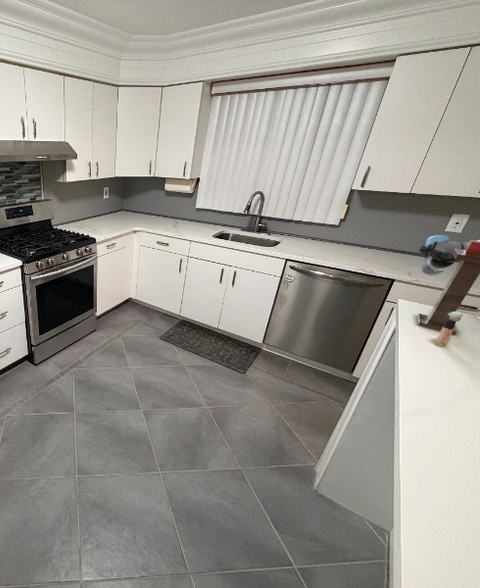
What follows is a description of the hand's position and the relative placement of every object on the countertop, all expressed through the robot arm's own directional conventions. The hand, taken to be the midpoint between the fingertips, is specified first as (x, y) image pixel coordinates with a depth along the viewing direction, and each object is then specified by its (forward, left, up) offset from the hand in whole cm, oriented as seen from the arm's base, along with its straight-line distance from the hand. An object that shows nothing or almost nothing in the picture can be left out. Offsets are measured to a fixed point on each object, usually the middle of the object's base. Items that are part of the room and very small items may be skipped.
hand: (457, 247), depth 131 cm
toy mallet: (-15, +17, +4) cm, 23 cm away
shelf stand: (-19, +22, -25) cm, 38 cm away
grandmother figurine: (-31, +36, -25) cm, 54 cm away
